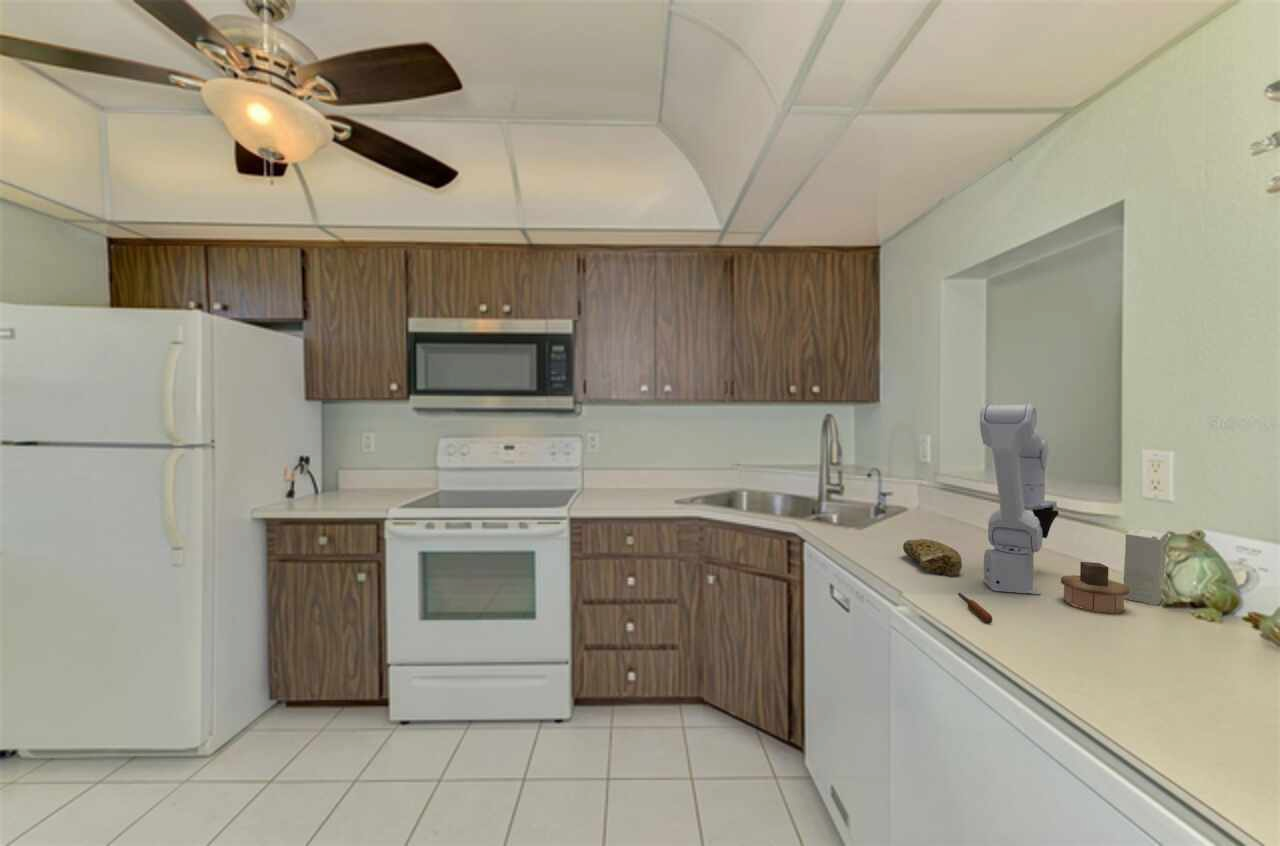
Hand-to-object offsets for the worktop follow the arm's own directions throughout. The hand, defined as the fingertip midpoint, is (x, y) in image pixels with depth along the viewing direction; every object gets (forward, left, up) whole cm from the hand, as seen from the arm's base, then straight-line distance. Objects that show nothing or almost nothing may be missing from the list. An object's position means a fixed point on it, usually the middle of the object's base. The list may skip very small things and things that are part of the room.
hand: (1030, 538), depth 139 cm
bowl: (+4, -22, -9) cm, 24 cm away
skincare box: (+17, -14, -10) cm, 24 cm away
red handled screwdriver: (-22, -33, -10) cm, 41 cm away
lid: (+4, -22, -5) cm, 23 cm away
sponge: (-22, +2, -10) cm, 24 cm away
